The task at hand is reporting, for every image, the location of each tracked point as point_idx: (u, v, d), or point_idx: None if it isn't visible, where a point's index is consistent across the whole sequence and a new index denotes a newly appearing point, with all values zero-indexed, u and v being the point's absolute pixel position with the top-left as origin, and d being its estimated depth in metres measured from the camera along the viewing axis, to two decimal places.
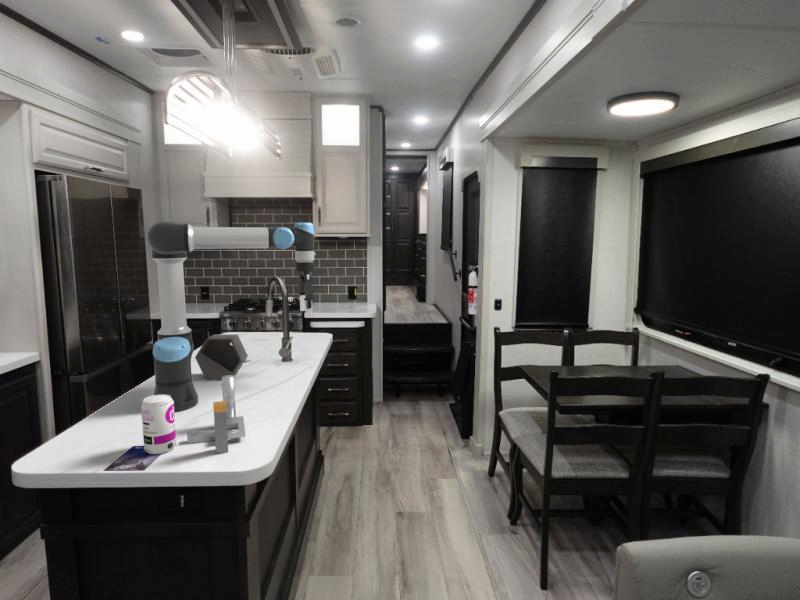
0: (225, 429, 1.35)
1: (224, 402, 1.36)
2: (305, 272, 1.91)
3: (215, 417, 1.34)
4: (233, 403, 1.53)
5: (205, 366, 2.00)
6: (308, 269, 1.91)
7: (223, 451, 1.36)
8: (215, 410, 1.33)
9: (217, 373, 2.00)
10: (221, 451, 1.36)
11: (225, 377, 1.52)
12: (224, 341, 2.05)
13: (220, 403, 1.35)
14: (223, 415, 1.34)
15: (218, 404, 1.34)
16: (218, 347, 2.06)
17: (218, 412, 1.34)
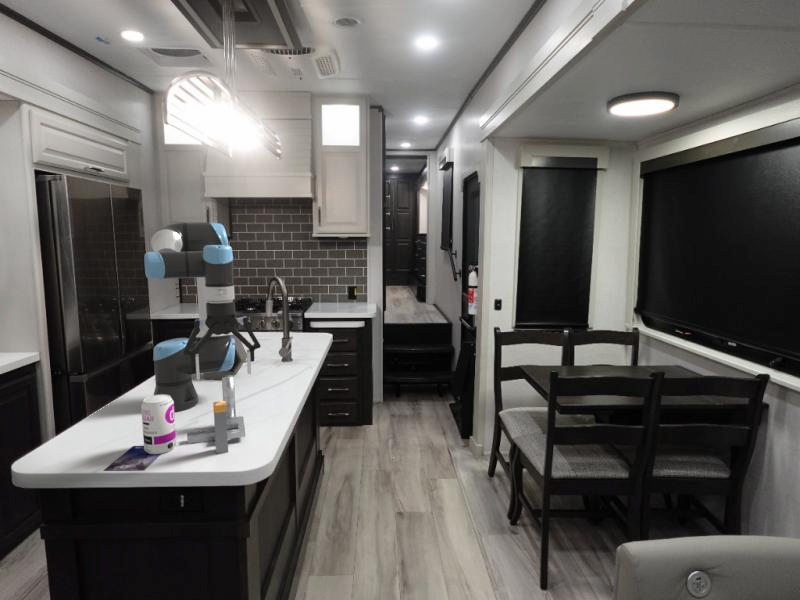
0: (225, 429, 1.35)
1: (224, 402, 1.36)
2: None
3: (215, 417, 1.34)
4: (233, 403, 1.53)
5: None
6: (206, 312, 1.32)
7: (223, 451, 1.36)
8: (215, 410, 1.33)
9: (217, 373, 2.00)
10: (221, 451, 1.36)
11: (225, 377, 1.52)
12: None
13: (220, 403, 1.35)
14: (223, 416, 1.34)
15: (218, 404, 1.34)
16: None
17: (218, 412, 1.34)
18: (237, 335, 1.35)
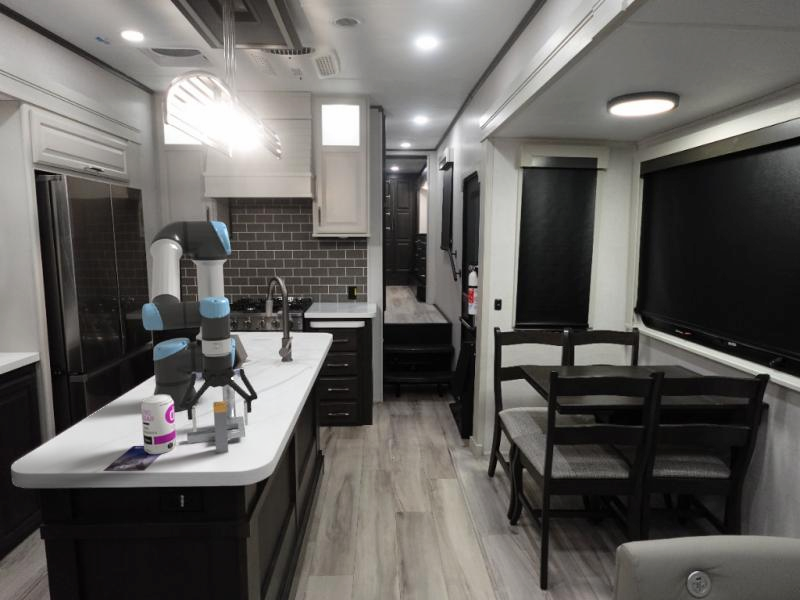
0: (225, 429, 1.35)
1: (224, 402, 1.36)
2: None
3: (215, 417, 1.34)
4: (233, 403, 1.53)
5: None
6: (203, 365, 1.31)
7: (223, 451, 1.36)
8: (215, 410, 1.33)
9: None
10: (221, 451, 1.36)
11: None
12: None
13: (220, 403, 1.35)
14: (223, 416, 1.34)
15: (218, 404, 1.34)
16: None
17: (218, 412, 1.34)
18: (234, 387, 1.35)
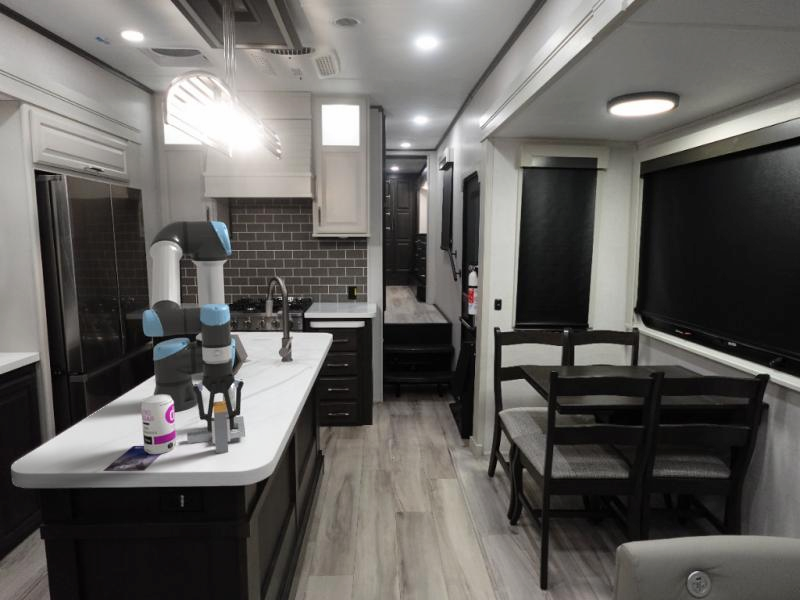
0: (225, 429, 1.35)
1: (224, 402, 1.36)
2: None
3: (215, 417, 1.34)
4: (233, 403, 1.53)
5: None
6: (203, 372, 1.32)
7: (223, 451, 1.36)
8: (215, 410, 1.33)
9: None
10: (221, 451, 1.36)
11: None
12: None
13: (220, 403, 1.35)
14: (223, 415, 1.34)
15: (218, 404, 1.34)
16: None
17: (218, 412, 1.34)
18: (226, 397, 1.34)
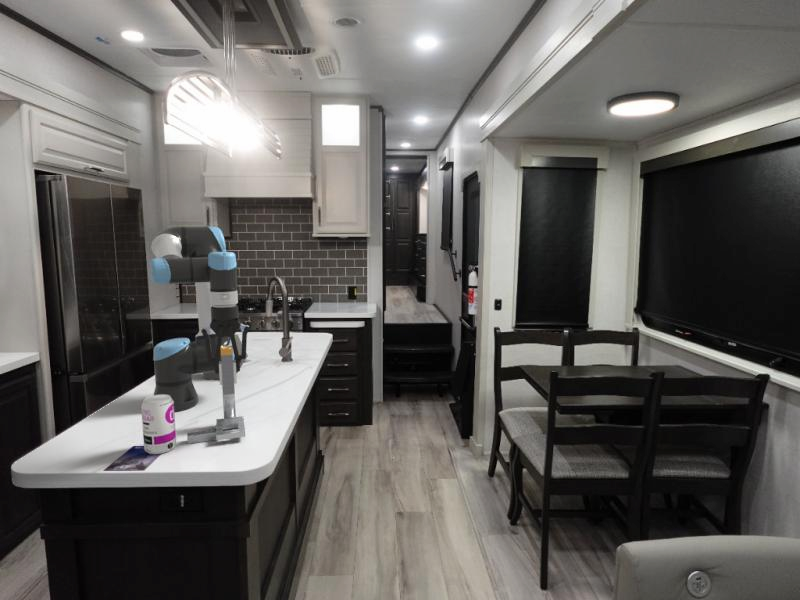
0: (232, 371, 1.42)
1: (230, 346, 1.43)
2: None
3: (222, 359, 1.41)
4: (233, 403, 1.53)
5: None
6: (211, 316, 1.39)
7: (230, 393, 1.43)
8: (222, 353, 1.40)
9: None
10: (228, 392, 1.43)
11: None
12: None
13: (227, 347, 1.42)
14: (229, 358, 1.41)
15: (225, 347, 1.41)
16: None
17: (225, 354, 1.41)
18: (232, 341, 1.41)
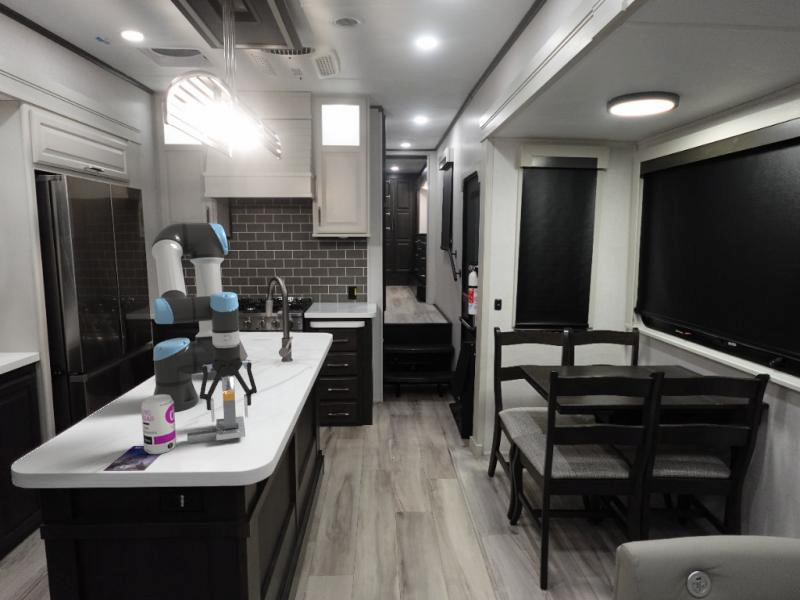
0: (234, 416, 1.44)
1: (232, 391, 1.45)
2: None
3: (224, 405, 1.43)
4: None
5: None
6: (213, 356, 1.41)
7: None
8: (224, 398, 1.43)
9: None
10: None
11: (225, 377, 1.52)
12: None
13: (229, 392, 1.44)
14: (231, 403, 1.44)
15: (227, 393, 1.44)
16: None
17: (227, 400, 1.43)
18: (239, 378, 1.44)
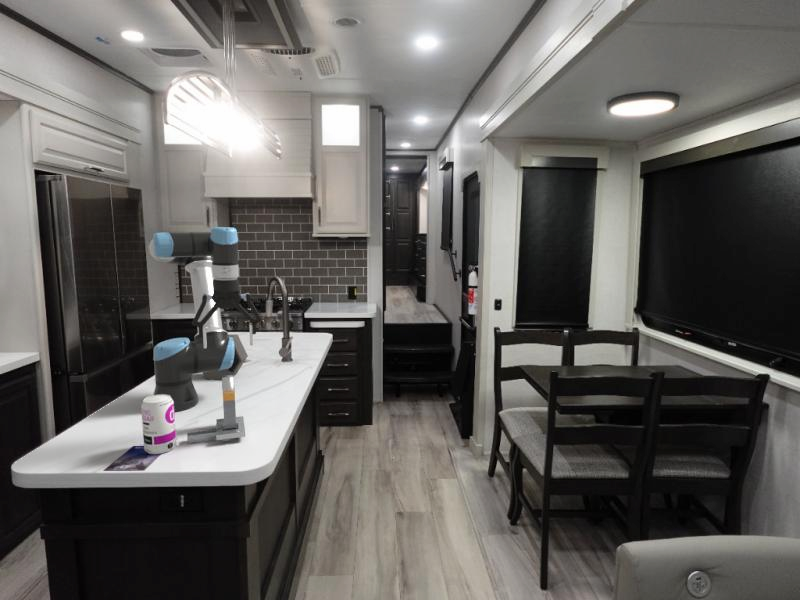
0: (233, 416, 1.44)
1: (232, 391, 1.45)
2: None
3: (224, 405, 1.43)
4: None
5: None
6: (213, 288, 1.46)
7: None
8: (224, 398, 1.43)
9: (217, 373, 2.00)
10: None
11: (225, 377, 1.52)
12: None
13: (229, 392, 1.44)
14: (231, 403, 1.44)
15: (227, 393, 1.44)
16: None
17: (227, 400, 1.43)
18: (240, 310, 1.49)
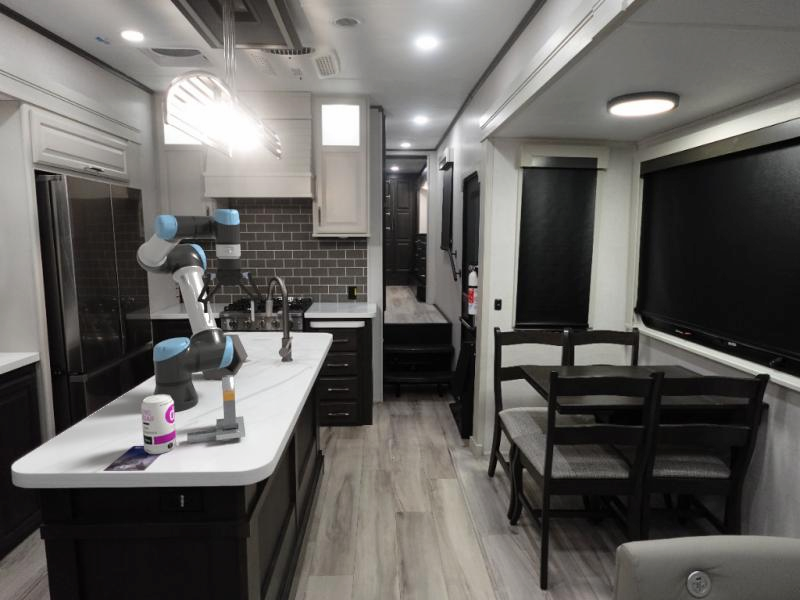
0: (234, 416, 1.44)
1: (232, 391, 1.45)
2: None
3: (224, 405, 1.43)
4: None
5: None
6: (217, 267, 1.55)
7: None
8: (224, 398, 1.43)
9: (217, 373, 2.00)
10: None
11: (225, 377, 1.52)
12: None
13: (229, 392, 1.44)
14: (231, 403, 1.44)
15: (227, 393, 1.44)
16: None
17: (227, 400, 1.43)
18: (242, 287, 1.59)
